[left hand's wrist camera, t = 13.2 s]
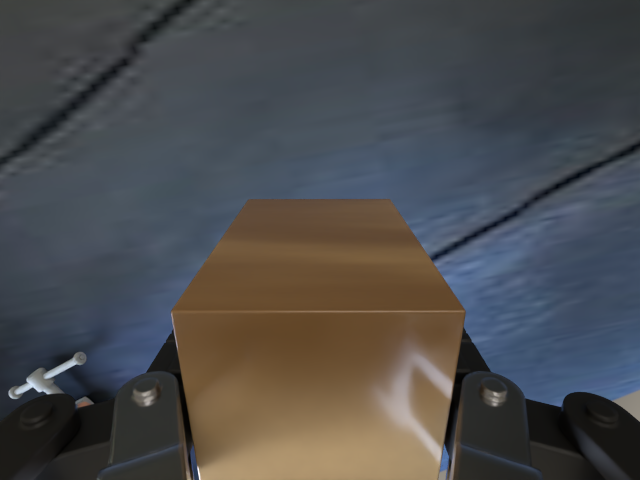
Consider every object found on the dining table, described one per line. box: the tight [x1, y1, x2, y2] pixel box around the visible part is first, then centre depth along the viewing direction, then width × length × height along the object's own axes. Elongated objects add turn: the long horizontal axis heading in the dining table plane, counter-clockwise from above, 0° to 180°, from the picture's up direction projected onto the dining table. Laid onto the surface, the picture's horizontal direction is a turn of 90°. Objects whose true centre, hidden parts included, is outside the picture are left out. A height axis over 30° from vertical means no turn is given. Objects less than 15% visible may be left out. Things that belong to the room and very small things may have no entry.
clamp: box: [9, 352, 94, 408], centre depth 31 cm, size 15×2×10 cm
